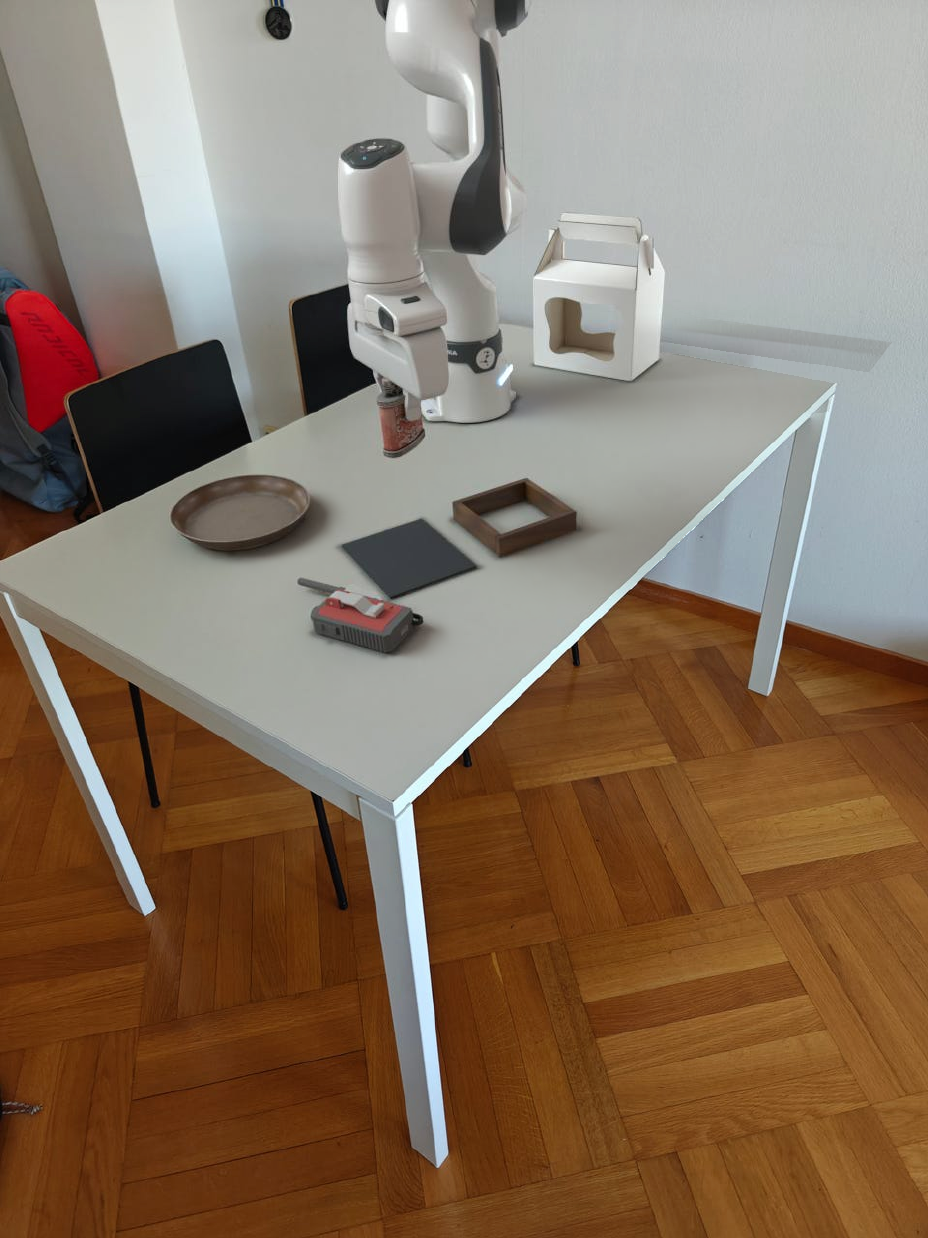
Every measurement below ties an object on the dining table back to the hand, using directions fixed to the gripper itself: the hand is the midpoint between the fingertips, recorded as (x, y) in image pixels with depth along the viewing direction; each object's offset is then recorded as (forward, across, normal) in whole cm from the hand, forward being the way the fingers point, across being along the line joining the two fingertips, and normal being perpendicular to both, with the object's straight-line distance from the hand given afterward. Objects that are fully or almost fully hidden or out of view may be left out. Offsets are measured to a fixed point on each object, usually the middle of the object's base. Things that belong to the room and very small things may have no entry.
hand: (401, 411), depth 111 cm
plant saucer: (+21, -23, -17) cm, 36 cm away
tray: (+21, +1, +16) cm, 26 cm away
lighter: (+5, 0, 0) cm, 5 cm away
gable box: (+22, -45, +65) cm, 82 cm away
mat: (+21, 0, -1) cm, 21 cm away
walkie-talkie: (+21, +9, -14) cm, 27 cm away
